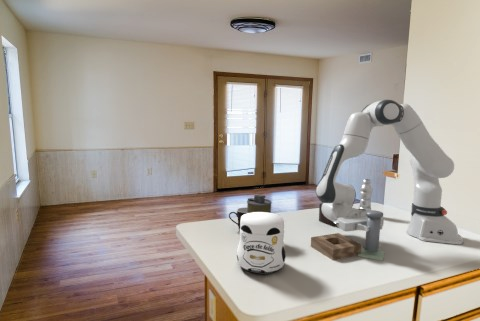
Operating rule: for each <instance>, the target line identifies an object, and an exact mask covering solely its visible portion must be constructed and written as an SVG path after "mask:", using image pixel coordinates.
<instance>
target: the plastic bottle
mask: <svg viewBox="0 0 480 321" xmlns="http://www.w3.org/2000/svg"><path fill="white" fill-rule="evenodd" d="M362 180H363V181H362V185H361V186H360V188H359V196H360V197H359V199H360V201H359V206H358V209H366V210H372V202H371V201H372V195H373V190H374V189H373V186H372V185H371V184H372V183H371V181H372V180H371V179H369V178H365V179H362Z"/></svg>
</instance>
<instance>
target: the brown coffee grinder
mask: <svg viewBox="0 0 480 321" xmlns="http://www.w3.org/2000/svg"><path fill="white" fill-rule="evenodd" d="M322 204H323V203H322V202H321V203H319V207H318V209H319V210H318V212H319V213H318V222H320V223H322V224H325V225H328V226H331V227H337V224H335V223H333V221H331V220H329V219H328V218H326V217H325V216H324V215H323V213H322V210H321V208H322Z"/></svg>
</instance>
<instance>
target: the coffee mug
mask: <svg viewBox="0 0 480 321" xmlns="http://www.w3.org/2000/svg"><path fill="white" fill-rule="evenodd" d="M232 214H235V215H236V217H237V221H235V220H234V219H232V217H231V215H232ZM244 214H247V207H238V208H237V209H236V211H231V212H230V213H228V218H229V219H230V221H232V222H233V223H234V224H236V225H237V227H238V232H239V233H240V220H241V216H242V215H244Z"/></svg>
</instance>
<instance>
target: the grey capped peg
mask: <svg viewBox="0 0 480 321" xmlns="http://www.w3.org/2000/svg"><path fill="white" fill-rule="evenodd" d="M366 216H367V226H369V227H370V231H368V232H366V231H365V242H364V248H365V250H366V251H369V252H378V250H379V245H380V236H381V235H380V234H381V229H380V224H381V218H382V217H383V218H384V212H382V211H379V210H376V209H375V210H374V209H371V210H367V211H366Z"/></svg>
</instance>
